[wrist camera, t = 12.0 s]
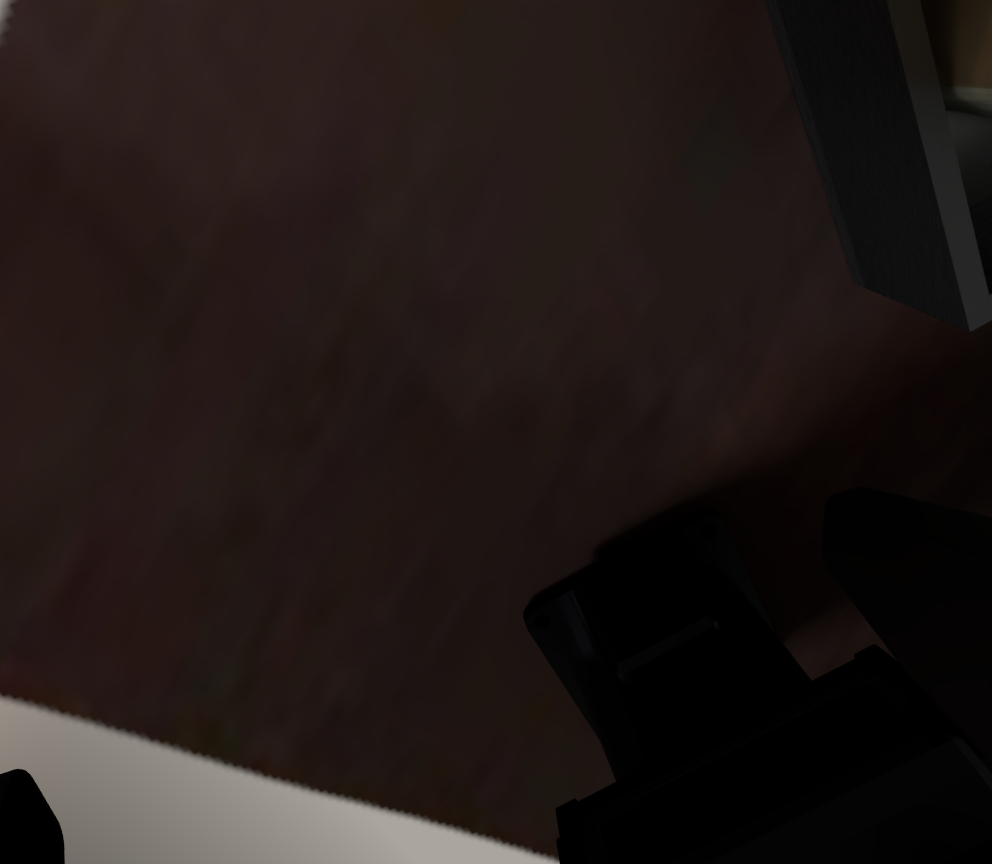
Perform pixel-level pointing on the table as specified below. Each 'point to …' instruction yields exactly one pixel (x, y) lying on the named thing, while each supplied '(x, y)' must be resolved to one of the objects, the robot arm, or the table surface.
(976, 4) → the skincare box
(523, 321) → the table surface
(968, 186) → the grey open tray
